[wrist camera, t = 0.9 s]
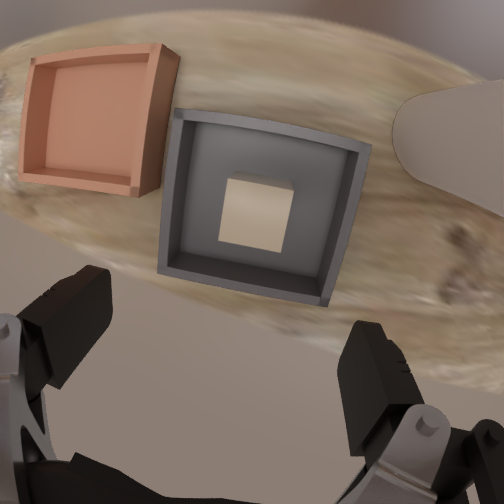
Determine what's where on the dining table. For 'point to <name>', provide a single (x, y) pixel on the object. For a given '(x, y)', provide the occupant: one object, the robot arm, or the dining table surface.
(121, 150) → the bin
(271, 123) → the bin
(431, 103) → the cup
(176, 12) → the dining table surface
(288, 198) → the block
